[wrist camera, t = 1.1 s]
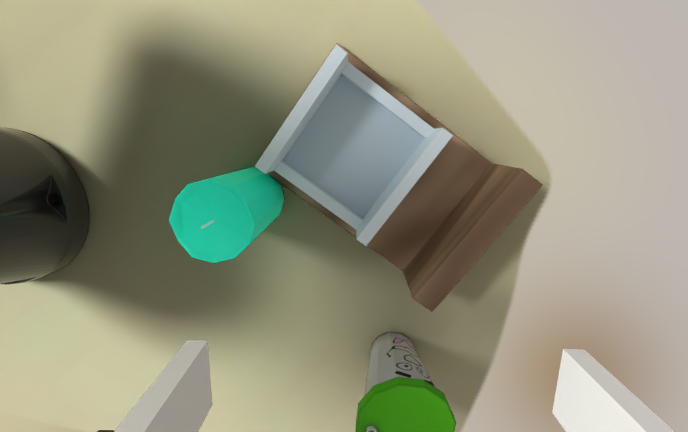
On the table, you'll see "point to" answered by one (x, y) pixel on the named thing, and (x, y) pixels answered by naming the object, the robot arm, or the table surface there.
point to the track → (442, 210)
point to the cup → (401, 392)
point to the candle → (225, 213)
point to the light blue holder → (352, 146)
